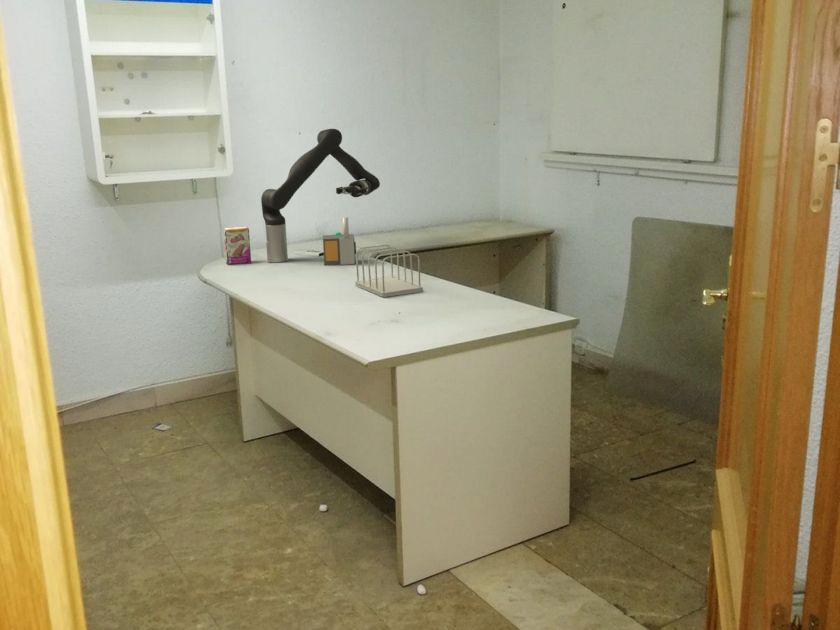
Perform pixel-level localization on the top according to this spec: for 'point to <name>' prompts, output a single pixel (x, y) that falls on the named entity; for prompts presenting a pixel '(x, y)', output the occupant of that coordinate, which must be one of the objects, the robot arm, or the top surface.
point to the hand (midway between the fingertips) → (346, 192)
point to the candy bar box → (237, 245)
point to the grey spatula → (346, 245)
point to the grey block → (333, 249)
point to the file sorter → (389, 284)
